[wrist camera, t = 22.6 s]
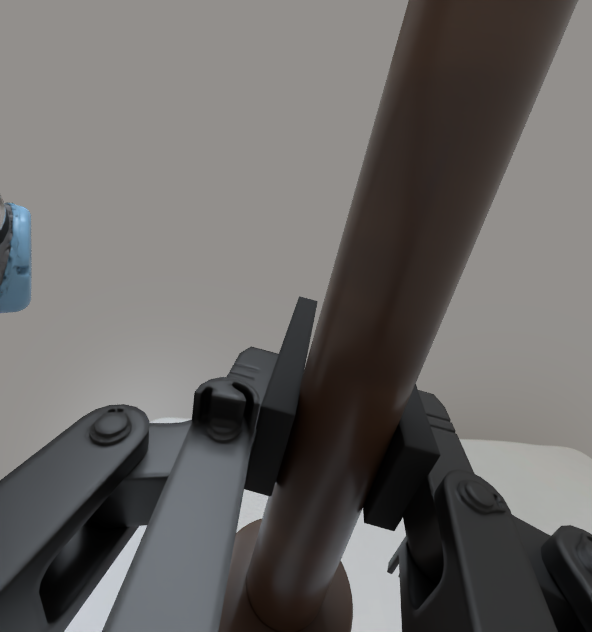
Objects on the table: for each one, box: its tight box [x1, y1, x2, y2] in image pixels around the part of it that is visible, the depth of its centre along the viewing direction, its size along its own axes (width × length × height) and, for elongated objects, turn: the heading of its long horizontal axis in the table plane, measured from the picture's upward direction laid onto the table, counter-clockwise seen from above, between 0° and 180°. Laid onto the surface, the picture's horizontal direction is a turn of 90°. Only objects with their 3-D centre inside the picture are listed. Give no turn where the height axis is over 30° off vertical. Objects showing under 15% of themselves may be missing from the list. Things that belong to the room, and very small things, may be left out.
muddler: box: [218, 0, 578, 632], centre depth 7 cm, size 4×4×18 cm
